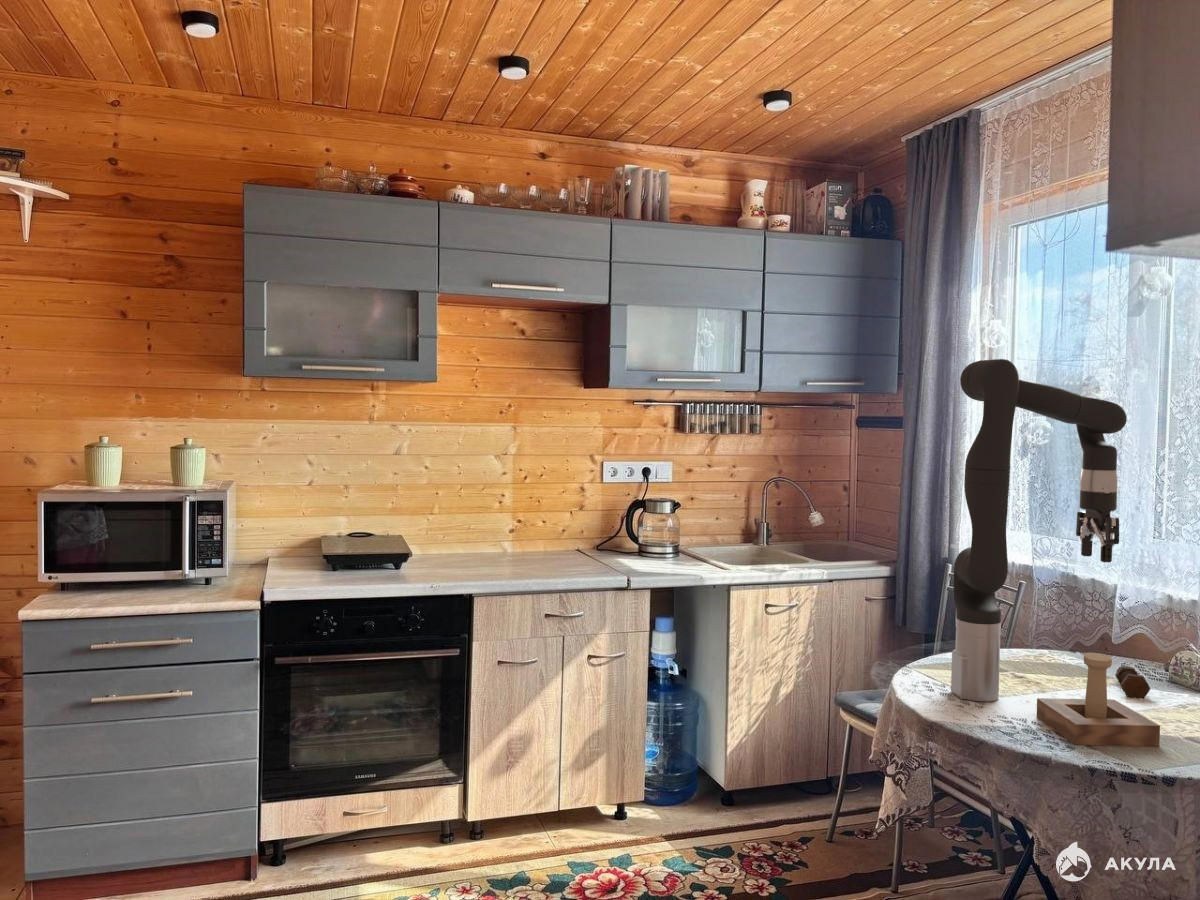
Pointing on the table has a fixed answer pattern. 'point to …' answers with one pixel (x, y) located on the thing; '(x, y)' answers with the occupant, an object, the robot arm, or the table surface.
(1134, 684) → the dark brown hexagonal dumbbell
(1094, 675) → the handle
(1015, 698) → the table surface
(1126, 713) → the socket block
